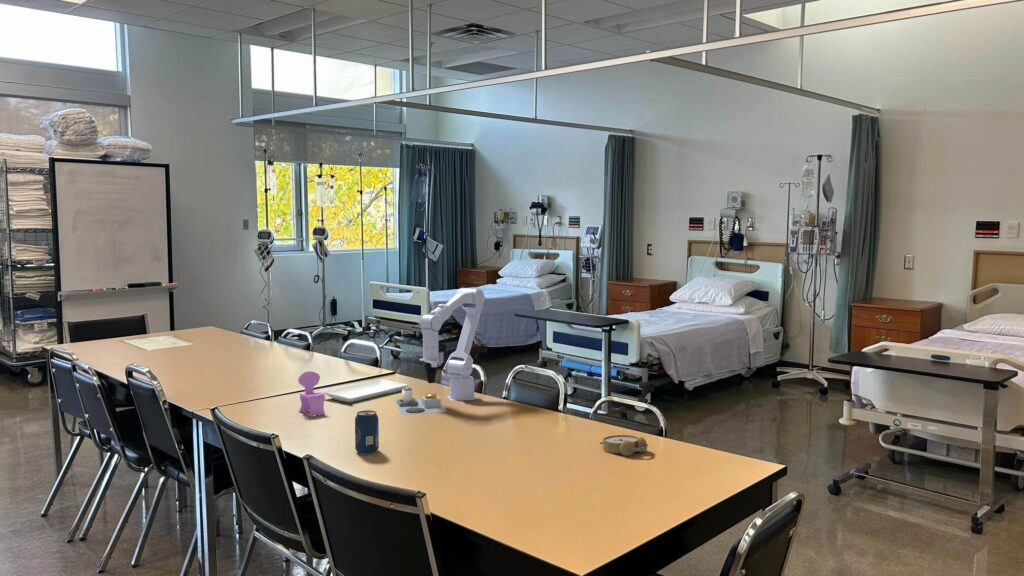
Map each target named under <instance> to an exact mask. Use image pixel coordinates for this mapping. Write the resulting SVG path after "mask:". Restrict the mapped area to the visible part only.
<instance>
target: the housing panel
mask: <svg viewBox="0 0 1024 576" xmlns="http://www.w3.org/2000/svg"><path fill="white" fill-rule="evenodd" d="M441 401H442V400H441V398H440V397H439V395H437V396H436V399H426V397H425V395H423V396H421V398H414V397H413V402H408V403H402V398H401V399H400V398H399V399H397V400H394V402H395V404H396V405H397V408H399V411H400V412H401V413H402V415H416V414H419V413H408V412H406V409H408V408H423V409H425V411H424V412H421V413H420V414H431V413H441V412H442V413H445V412H448V410H447V409H446V408H445V407H444V406H443V404H441Z"/></svg>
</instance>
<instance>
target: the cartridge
mask: <svg viewBox="0 0 1024 576" xmlns="http://www.w3.org/2000/svg"><path fill="white" fill-rule="evenodd" d="M401 395H402V396H401V399H402V403H408V402H413V398H414V390H413V388H412V387H409V386H407V387H406V388H403V389H402V390H401Z"/></svg>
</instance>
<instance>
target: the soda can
mask: <svg viewBox="0 0 1024 576" xmlns="http://www.w3.org/2000/svg"><path fill="white" fill-rule="evenodd" d="M379 427H380V426H379V416H378V415H377V411H376V410H371V409H370V410H361V411H360V410H359V411H357V413H356V415H355V418H354V435H355V436H354V442H355V444H354V445H355V446H354V447H355V451H356V453H357V454H359V455H361V456H363V455H368V456H369V455H373V454H376V453H377V452H378V449H379V447H380V441H379V439H380V438H379V437H380V436H379V433H380V432H379Z"/></svg>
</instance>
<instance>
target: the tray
mask: <svg viewBox="0 0 1024 576" xmlns="http://www.w3.org/2000/svg"><path fill="white" fill-rule="evenodd" d="M408 387H409V384H406V383H402V382H396V381H391V380H387V379H383V378H382V379H375V380H370V381H365V382H361V383H356V384H355V383H354V384H352V385H346V386H343V387H337V388H333V389H328V390H324V391H322V393H323V394H325V395H326V396H327V397H328V398H332V399H333V400H335V401H340V402H344V403H347V404H348V403H349V404H352V403H353V402H357V401H361V400H366V399H370V398H374V397H379V396H380V397H381V396H384V395H389V394H395V393H399V392H401V391H402V389H403V388H408Z"/></svg>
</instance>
